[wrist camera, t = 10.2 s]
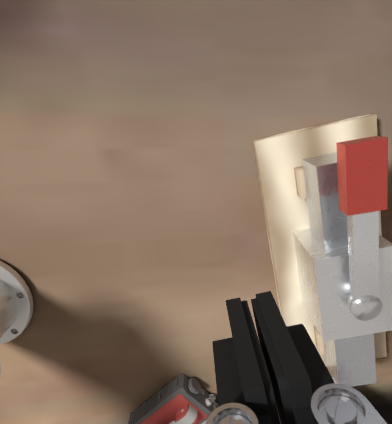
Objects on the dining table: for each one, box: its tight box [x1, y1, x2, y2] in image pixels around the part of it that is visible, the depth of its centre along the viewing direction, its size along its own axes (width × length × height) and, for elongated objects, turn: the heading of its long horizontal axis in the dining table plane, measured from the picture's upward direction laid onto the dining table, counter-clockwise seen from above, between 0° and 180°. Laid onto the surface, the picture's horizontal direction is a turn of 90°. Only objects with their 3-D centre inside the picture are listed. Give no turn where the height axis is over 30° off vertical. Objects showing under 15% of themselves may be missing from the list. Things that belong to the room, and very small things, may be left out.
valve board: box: [252, 114, 387, 367], centre depth 36 cm, size 12×30×3 cm, turn 13°
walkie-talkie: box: [128, 374, 219, 424], centre depth 43 cm, size 9×4×20 cm
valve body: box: [292, 152, 392, 387], centre depth 32 cm, size 7×25×7 cm, turn 12°
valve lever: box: [336, 136, 388, 321], centre depth 26 cm, size 16×3×2 cm, turn 10°
